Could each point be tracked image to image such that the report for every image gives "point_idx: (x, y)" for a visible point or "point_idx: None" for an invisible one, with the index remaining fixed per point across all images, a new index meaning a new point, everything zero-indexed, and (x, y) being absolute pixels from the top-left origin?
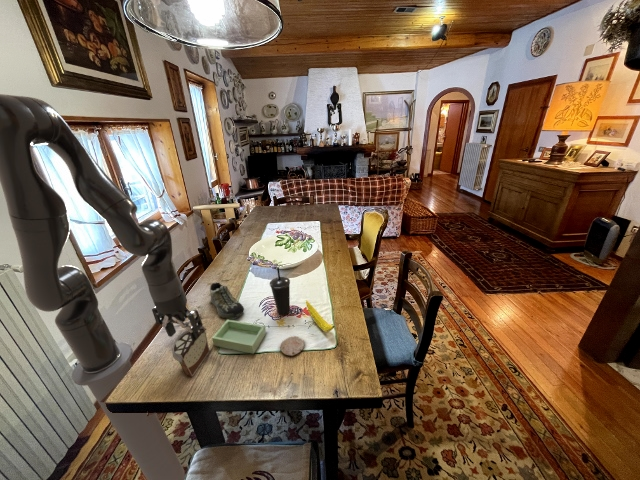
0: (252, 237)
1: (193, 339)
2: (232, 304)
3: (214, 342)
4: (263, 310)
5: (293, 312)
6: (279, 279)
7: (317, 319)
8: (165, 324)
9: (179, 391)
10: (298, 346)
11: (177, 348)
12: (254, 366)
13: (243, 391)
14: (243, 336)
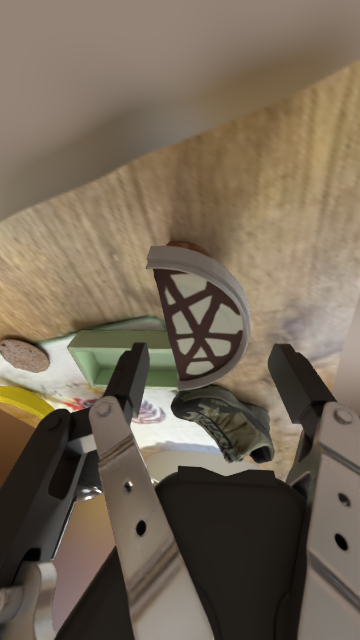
0: None
1: (130, 351)
2: (197, 417)
3: None
4: (146, 403)
5: (92, 404)
6: (71, 503)
7: (21, 404)
8: (330, 438)
9: (170, 181)
10: (10, 357)
11: (214, 299)
12: (50, 305)
13: (5, 240)
14: None
